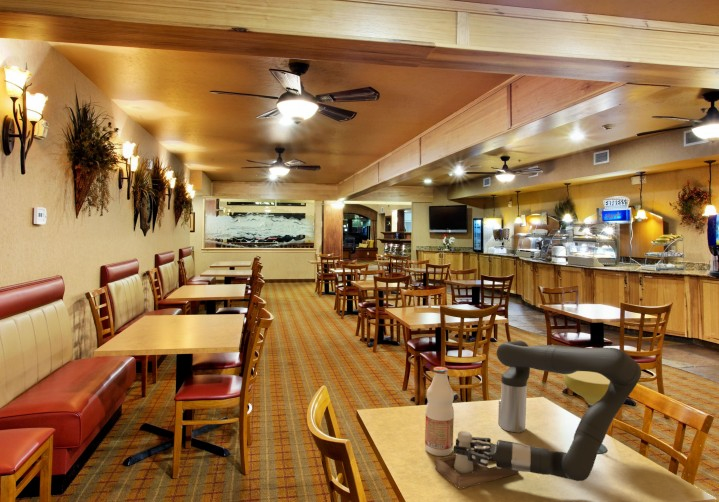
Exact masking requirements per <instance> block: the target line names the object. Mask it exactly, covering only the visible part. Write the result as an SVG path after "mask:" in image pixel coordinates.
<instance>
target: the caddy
mask: <svg viewBox="0 0 719 502" xmlns="http://www.w3.org/2000/svg"><path fill="white" fill-rule="evenodd" d="M472 452H474V451H472ZM456 455H457V454H454V455H451V456H449V455H448V456H444V457H441V458H437V459H435V470H436V471H437V472H438V471H439V474H441V475H442V476H443V477H444V476H445V477H444V478H445V479H447V480H448V481H449V480H450V481H451V482H450V481H449V482H450V483H451V484H453V483H454V484H455V485H456V486H457V487H456V486H455V485H454V484H453V485H454V486H455V487H456V488H458V487H459V488H462V489H464V488H463V487H466V488H468V487H467V486H469V487H472V486H471V485H473V486H477V485H480V484H485V483H487V482H491V481H495V480H499V479H502V478H505V477H511V476H513V475H517V474H519V472H520V471H516V470H510V469H505V468H500V467H497V466H496V465H495V466H492V467H488V466H484V465H481V464H478V463H475V462H473V468H474V470H473V472H472V473H468V474H464V475H460V474H459V473H457V472H456V471H455V469H454V464H455V459H456ZM474 459H475V458H474ZM479 483H480V484H479ZM476 484H477V485H476ZM459 488H458V489H459Z"/></svg>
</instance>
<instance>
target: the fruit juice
mask: <svg viewBox="0 0 719 502" xmlns="http://www.w3.org/2000/svg"><path fill="white" fill-rule="evenodd" d="M448 375H449V368H447V367H443V366H435V367H433V378H432V380H431V384H430V385H429V386H428V388H427V390H426V398H427V403H426V406H425V427H424V428H425V430H424V449H425V451H426V452H427V453H429V454H430V455H433V456H436V457H448V456H449V455H452V453H453V448H454V421H455V420H454V419H455V418H454V417H455V414H454V413H455V412H454V411H455V410H454V406H453V401H454V397H455V394H454V390H453V389H452V387H451V385H450V384H451V383H450V380H449V377H448Z"/></svg>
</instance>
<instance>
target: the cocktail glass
mask: <svg viewBox="0 0 719 502" xmlns="http://www.w3.org/2000/svg"><path fill="white" fill-rule="evenodd" d="M563 383H564V385H565V386H566V388H568V389H569V390H570V391H572V392H573V393H575V394H577V395H578V396H580V397H582V398H583V399H584V400H585V402H586V403H587V404H588V405H589V408H590V407H592V406H593V405H594V404H595V403H597V402H598V401H599V400H600V399H601V398H602V397H603V396H604V395H605V393H606V391H607V389H608V386H609V383H610V380H608V379H607V378H606V377H605V376H603V375H601V374H599V373H596V372H592V371H587V370H578V371H576V372H574V373H572V374H563ZM607 450H608V449H607V446H606V445H605V444H603V443H602V444H601V446H600V448H599V450H598V452H597V455H598V454H599V455H601V454H604V453H606V452H607Z"/></svg>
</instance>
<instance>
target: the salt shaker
mask: <svg viewBox="0 0 719 502" xmlns="http://www.w3.org/2000/svg"><path fill="white" fill-rule="evenodd" d="M472 437H473V434H472V433H471V432H469V431H467V430H460V431H459V432H458V433H457V438H458V440H459V441H460V442H459V446H461V447H466V448H471V447H470V442H471V441H472ZM455 455H456V459H455V464H454V468H453V470H455V471H456V472H457V473H459V474H460V475H464V474H468V473H472V472H474V471H473V470H474V468H473V462H472V461H469V460H468V457H466V456H465V455H460V454H455Z"/></svg>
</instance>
